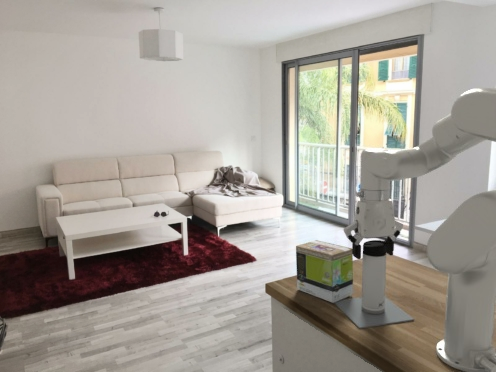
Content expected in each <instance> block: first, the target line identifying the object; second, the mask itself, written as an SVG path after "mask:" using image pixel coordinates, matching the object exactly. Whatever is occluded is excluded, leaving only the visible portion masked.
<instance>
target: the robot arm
mask: <svg viewBox="0 0 496 372" xmlns="http://www.w3.org/2000/svg"><path fill="white" fill-rule="evenodd" d="M431 132H432V133H431V134H432V137H431V138H429V139H427V140H425V142H422V143H421V144H419V145H417V146H415V147H411V148H410V147H409V148H402V149H393V150H389V149H386V148H379V147H378V148H374V147H372V148H366V149H363V150H362V151H361V153H360V177H359V178H360V182H359V186H360V187H359V190H358V191H356V192H355V196H356V197H358V198H359V199H357V202H356V207H355V213H354V221H353V222H352V223H350V224H349V225H348V226H346V227H343V233H344V235H345V236H346V238H347V240H349V242H350V243H352V247H351V248H352V254H353V257H354V258H356V259H357V260H361V259H362V245H361V244H360V243H361V242H362V241H363V240H364V239H366V240H368V239H369V240H370V239H377V238H385V240H384V241H387V242H388V245H387V244H386V255H387V254H388V255H389V256H394V251H395V242H396V241H397V238H398V237H399V236H400V234H401V231H402V229H403V227H404V224H403V223H401V222H399V221H397V220H396V219H395V218H396V217H395V209H394V207H395V206H394V203H393V200H392V199H391V198H390V183H391V182H393V181H394V182H395V181H401V180H407V179H412V178H418V177H423V176H425V175H427V174H429V173H431V172H433V171H436V170H438V169H439V168H441V167H443V166H445V165H446V164H447V165H448V163H450V162H451V161H452V160H454V159H455V158H456V157H457V155H459V154H461V153H463V152H465V151H468V150H469V149H472V148H473V147H475V146H477V145H479V144H482V142H485V141H491V142H495V143H496V88H494V87H493V88H487V87H484V88H483V87H480V88H472V89H469V90H467V91H465V92H463V93H462V94H460V95H459V97H457V98H456V100H454V102H453V104H452V107H451V110H450V113H449V114H447V115H446V116H444V117H443V118H441V119H439V120H437V121H436V122H434V124H433V127H432V129H431ZM352 231H354V234H352ZM426 256H427V259H428V261H429V263H430V265H431V266H432V267H433V268H434V269H435V270H437V271H439V272H440V273H443V274H446V275H448V277H447V285H446V300H445V301H446V302H445V319H444V332H443V334H444V336H443V337H444V338H443V339H442V340H440V341H439V342H437V344H436V348H435V352H436V355H437V357H438V358H439V359H440V360H441V361H442V362H444V364H446V365H448V366H450V367H452V368H454V369H456V370H460V371H462V372H496V348H495V347H494V346H493V334H494V325H495V324H494V323H495V313H496V312H495V310H496V188H495V189H491V190H488V191H484V192H479V193H477V194H474V195H472V196H471V197H469V198H467V199H466V200H464V201H463V202H462V203H461V204H460V205H458V207H457V208H456V209H454V210H453V212H452V213H451V214H450V215H449V216H447V218H446V219H445V220H444V221H443V222H441V224H440V225H439V226H438V227H437V228H436V229H435V230H434V231H433V233H432V234H431V235H430V237H429V238H428V241H427V242H426Z"/></svg>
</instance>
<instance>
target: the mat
mask: <svg viewBox="0 0 496 372" xmlns="http://www.w3.org/2000/svg"><path fill="white" fill-rule="evenodd" d="M333 304H334V305H335V306H336V307H337V308H339V310H340V311H341V312H342V314H344V315H345V316H346V317H347V318H348V319H349V320H350V321H351V322H352V324H354V325H355V326H356V327H357V328H358V329H360V330H361V329H367V328H368V329H369V328H374V327H375V328H376V327H380V326H386V325H387V326H388V325H392V324H393V325H394V324H399V323H407V322H411V321H412V322H414V320H415V319H414V317H412V316H411V315H410V314H408V313H407V312H406V311H404V310H403V309H402V308H400V307H399V306H398V305H396V304H395V303H394V302H393V301H391V300H390V299H389V298H387V296H385V311H384V312H383V313H382V314H377V315H374V314H368V313H366V312H364V311H363V310H362V296H361V297H353V298H344V299H341V300H339V301H337V302H334V303H333Z"/></svg>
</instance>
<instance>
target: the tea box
mask: <svg viewBox="0 0 496 372" xmlns="http://www.w3.org/2000/svg"><path fill="white" fill-rule="evenodd" d="M353 257H354V256H353V254H352V247H348V246H343V245H339V244H334V243H331V242H326V241H322V240H318V239H315V240H312V241H308V242H304V243H302V244H299V245H296V246H295V259H296V261H295V262H296V263H295V265H296V288H297V291H301V292H304V293H307V294H309V295H311V296H314V297H317V298H319V299H322V300H325V301H327V302H330V303H331V304H334V302H337V301H339V300H345V299H347V298H349V297H350V296H352V295H353V294H354V266H353Z"/></svg>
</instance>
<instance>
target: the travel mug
mask: <svg viewBox="0 0 496 372" xmlns="http://www.w3.org/2000/svg"><path fill="white" fill-rule="evenodd" d="M386 244H387V245H388V242H387V241H385V240H380V239H378V240H377V239H375V240H374V239H373V240H368V241H365V242H363V245H362V258H361V259H362V261H361V263H362V265H361V266H362V267H361V269H362V271H361V273H362V274H361V277H362V278H361V297H362V310H363V311H364V312H366V313H368V314H374V315H377V314H382V313H383V312H384V311H385V297H386V277H387V276H386V275H387V274H386V273H387V253H386Z"/></svg>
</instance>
